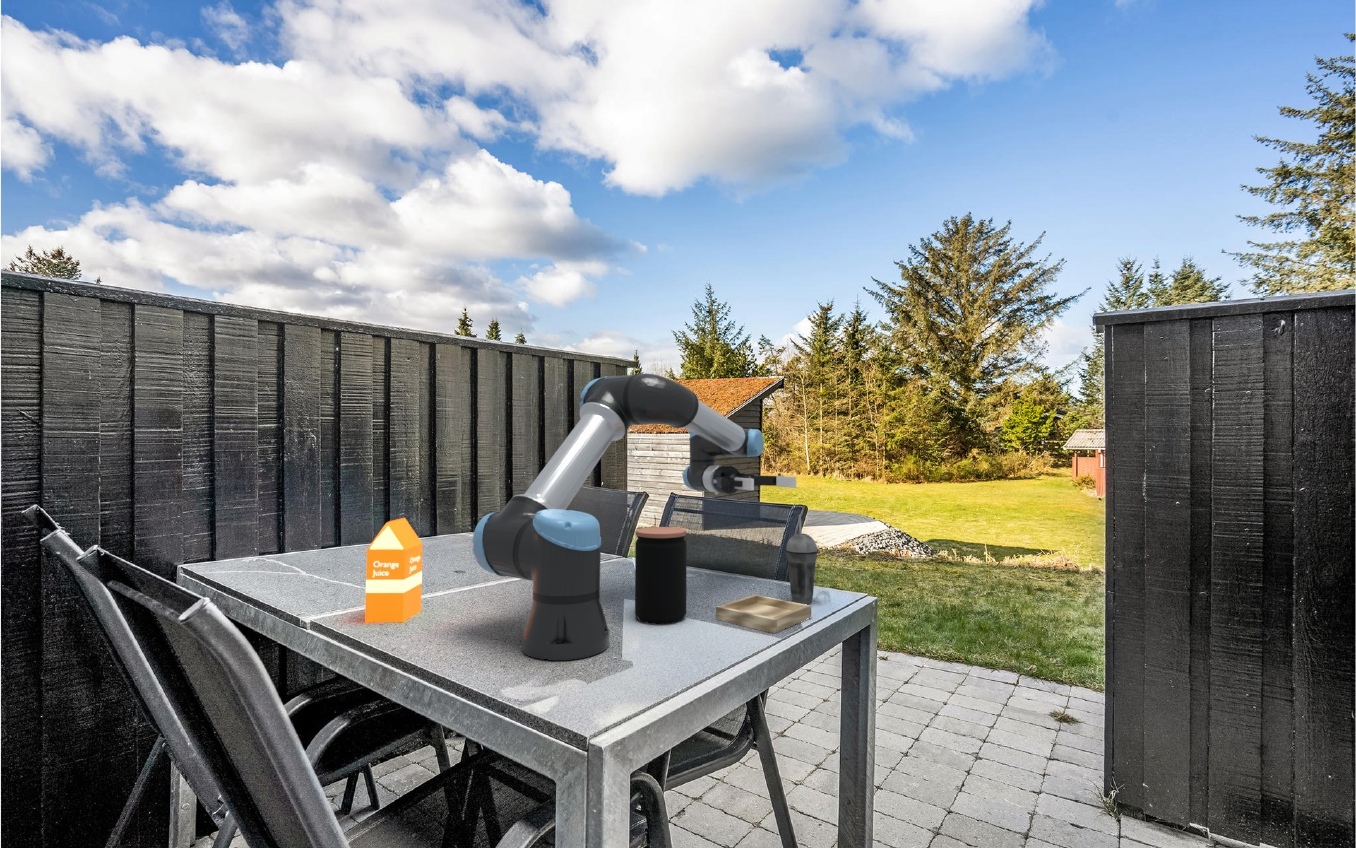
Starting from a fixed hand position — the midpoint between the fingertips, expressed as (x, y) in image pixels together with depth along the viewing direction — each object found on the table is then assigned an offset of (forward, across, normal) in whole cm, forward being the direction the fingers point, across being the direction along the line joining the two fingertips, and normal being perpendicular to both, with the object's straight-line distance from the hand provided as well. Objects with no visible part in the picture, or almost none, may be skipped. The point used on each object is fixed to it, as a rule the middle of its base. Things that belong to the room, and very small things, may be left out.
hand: (774, 483), depth 142 cm
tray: (+15, +16, -26) cm, 34 cm away
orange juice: (-26, +81, -26) cm, 89 cm away
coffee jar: (+3, +34, -26) cm, 43 cm away
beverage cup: (+9, 0, -27) cm, 28 cm away
